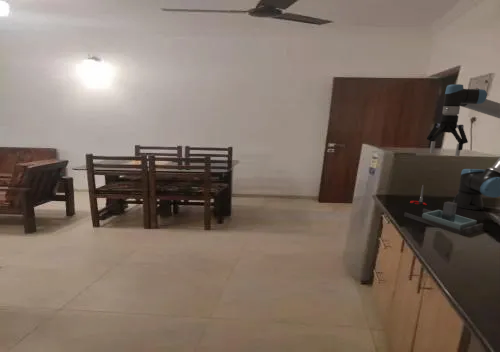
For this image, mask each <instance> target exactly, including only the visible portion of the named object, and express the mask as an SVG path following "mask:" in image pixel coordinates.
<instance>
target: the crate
mask: <svg viewBox="0 0 500 352" xmlns="http://www.w3.org/2000/svg"><path fill="white" fill-rule="evenodd" d="M442 213H443V210H441V209H436V210H431V212H426V213H424V212H422V214H421V217H422V218H425V219H428V220H431V221H434V222H437V223H440V224H443V225H446V226H450V227H453V228H456V229H459V230H461V229H463V228H466V227H470V226H473V225H476V224H477V222H478V221H477V220H476V219H474V218H473V219H472V218H468V217H465V216H461V215H459V214H457V213H456V214H455V220H454V222H451V221H448V220H445V219H442Z"/></svg>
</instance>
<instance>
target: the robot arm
mask: <svg viewBox="0 0 500 352" xmlns="http://www.w3.org/2000/svg"><path fill="white" fill-rule="evenodd" d="M487 96H488V92H487V90H485V89H482V88H481V89H480V88H464V85H463V84H460V83H459V84H458V83H456V84H447V85H446V88H445V93H444V100H443V105H442V112H441V113H442V115H441V119H440V123H436V122H435V123H434V125H433V128H432V130H431V131H430V132H429V134H428V136H427V137H426V140H427V141H429V145H428V146H429V154H435V153H434V152H435V149H436V148H435V147H436V142H437V141H436V139H438V137H440V136H441V135H442V134H443V133H448V134H449V133H451V134H452V136H453V138H455V140H456V141H457V142H458V143H457V144H456V149H455V154H454V155H455V157H460V154H461V151H463V148H464V144H468V143H469V140H468V138H467V135H466V132H465V129H464V124H458V122H459V114H460V110H461V107H463V108H466V109H468V110H472V111H474V112H478V113H481V114H484V115H488V116H491V117H494V118H496V119H500V102H498V101H494V100H491V99H487V98H488V97H487ZM438 129H439V130H438ZM457 129H458V131H457ZM459 179H460V180H459V185H458V191H457V193H456V194H455V197H454V198H453V201H452V202H453V203H457V208H460V209H461V208H462V209H465V210H471V209H472V210H473V211H481V210H483V209H484V202H483V201H484V200H483V198H482V195H483V196H484V197H488V198H499V197H500V156H499V157H498V159H497V160H496V161H495V162H494V164H492V166H491V167H487V168H486V169H479V168H464V169H462V170H461V173H460V178H459ZM482 208H483V209H482ZM480 209H481V210H480Z"/></svg>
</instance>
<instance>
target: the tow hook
mask: <svg viewBox="0 0 500 352" xmlns="http://www.w3.org/2000/svg"><path fill="white" fill-rule="evenodd" d="M424 187H425V186H424V184H422V186H421V190H420V197H419V200H410V202H409V203H410V204H413V203H414V204H415V205H422V206H423V205H424V206H427V205H428V204H427V203H426V202H424V201H423V200H424V198H423V197H424V190H425V189H424Z"/></svg>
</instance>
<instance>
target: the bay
mask: <svg viewBox="0 0 500 352" xmlns="http://www.w3.org/2000/svg"><path fill="white" fill-rule="evenodd" d="M431 211H432V210H431V209H427V208H422V211H421V212H422V213H426V212H431ZM403 216H404V217H405V218H408V219H412V220H415V221H416V222H417V221H418V222H421V223H424V224H426V225H429V226H432V227H436V228H438V229H440V230H441V229H442V230H445V231H447V232H450V233H453V234H457V235H459V236H462V237H463V236H466V235H471V234H473V233H476V232H479V231H482V230H483V227H484V223H483V222H481V223H476V225H473V226H470V227H466V228H463V229H461V230H459V229H456V228H453V227H450V226H446V225H443V224H440V223H437V222H434V221H431V220H428V219H425V218H422V216H419V215H414V214H412V213H408V212H407V211H405V212H404V214H403Z"/></svg>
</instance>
